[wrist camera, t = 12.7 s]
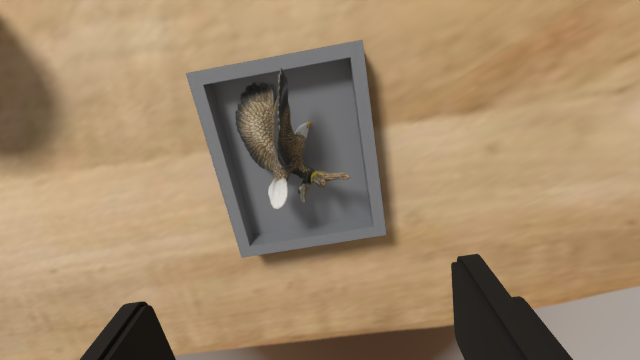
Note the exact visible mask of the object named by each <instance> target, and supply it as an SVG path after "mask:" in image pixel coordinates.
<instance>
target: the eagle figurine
mask: <svg viewBox="0 0 640 360" xmlns="http://www.w3.org/2000/svg"><path fill="white" fill-rule="evenodd" d="M278 87H279V88H278V97H277V100H276V102H275V105H274V98H273V89H272V86H271V85H268V86H266V85H265V84H264V83H261V84H260V85H258V84H257V83H255V82H254V83H252V85H251V86H250V85H247V87H246V90H245V93H244V92H243V93H241V103H238V104H237V106H238V110H236V112H235V113H236V116H235V119H236V126H237V131H238V133H239V134H240V137H241V140H242V141H243V142H244V145H245V147H246V149H247V151H248V152H249V154H250V156H251V158H252V159H253V160H254V161H255V163H257V164H258V165H259V167H262V168H263V169H266V170H270V171H271V172H273V173H274V179H273V181H272V183H271V184H270V186H269V189H268V195H269V198H270V201H271V205H272V207H273V208H274V209H280V208H281V207H283V205H284V204H285V203H286V200H287V197H288V184H287V181H288V178H289V176H290V174H291V173H293V174H296V175H297V176H299V177H300V178H302V179H304V180H303V182H302V184H301V186H300V188H299V189H298V194H301V200H302V202H304V203H305V200H306V198H305V194H306V191H307V190H308V189H309V187H310V186H311V183H314V182H315V184H316V185H317V186H318V187H319V188H324V187H325V184H326V182H327V181H332V180H336V179H342V180H346V179H350V176H349V175H348V174H346V173H344V172H340V173H330V174H328V173H326V172H322V171H315V170H314V169H313V168H310V167H307V166H306V165H305V163H304V162H303V160H302V154H303V152H304V150H305V146H306V140H307V134H308V131H309V127H310V126H311V125H312V123H311V122H306V123H304V124H302V125H300V126H299V127H298V129H297V130H296V132H295V133H294V132H293V129H292V126H291V114H290V107H289V103H288V81H287V78H286V76H285V74H284V71H283V69H282V68H280V74H279V75H278Z"/></svg>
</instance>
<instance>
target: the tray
mask: <svg viewBox="0 0 640 360" xmlns="http://www.w3.org/2000/svg"><path fill="white" fill-rule="evenodd" d="M280 68H282V69H283V71H284V74H285V76H286V78H287V81H288V103H289V107H290V114H291V126H292V129H293V132H294V133H295V132H296V130H297V129H298V127H299V126H300V125H302V124H304V123H306V122H311V123H312V125H311V126H310V127H309V131H308V134H307V140H306V146H305V150H304V152H303V154H302V160H303V162H304V163H305V165H306V166H307V167H310V168H313V169H314V170H315V171H322V172H326V173H328V174H330V173H340V172H344V173H346V174H348V175H349V176H350V179H346V180H342V179H336V180H332V181H327V182H326V184H325V187H324V188H319V187H318V186H317V185H316V184H315V182H314V183H311V186H310V187H309V189H308V190H307V191H306V194H305V198H306V200H305V203H304V202H302V200H301V194H298V189H299V188H300V186H301V184H302V182H303V180H304V179H302V178H300V177H299V176H297V175H296V174H293V173H291V174H290V176H289V178H288V181H287V184H288V197H287V200H286V203H285V204H284V205H283V207H281V208H280V209H274V208H273V207H272V205H271V201H270V198H269V195H268V189H269V186H270V184H271V183H272V181H273V179H274V173H273V172H271V171H270V170H266V169H263V168H262V167H259V165H258V164H257V163H255V161H254V160H253V159H252V158H251V156H250V154H249V152H248V151H247V149H246V147H245V145H244V142H243V141H242V140H241V137H240V134H239V133H238V131H237V126H236V119H235V116H236V113H235V112H236V110H238V106H237V104H238V103H241V93H243V92H244V93H245V90H246V87H247V85H250V86H251V85H252V83H254V82H255V83H257V84H258V85H260V84H261V83H264V84H265V85H266V86H268V85H271V86H272V89H273V98H274V105H275V102H276V100H277V97H278V88H279V87H278V75H279V74H280ZM186 75H187V79H188V82H189V85H190V89H191V92H192V95H193V98H194V102H195V105H196V108H197V112H198V115H199V118H200V122H201V125H202V128H203V132H204V135H205V138H206V141H207V145H208V148H209V151H210V155H211V158H212V161H213V165H214V168H215V171H216V174H217V178H218V181H219V184H220V188H221V191H222V194H223V198H224V201H225V204H226V208H227V211H228V214H229V217H230V221H231V224H232V227H233V231H234V234H235V237H236V241H237V244H238V247H239V250H240V254H241V257H242V258H243V257H249V256H256V255H262V254H268V253H275V252H281V251H288V250H294V249H300V248H307V247H313V246H320V245H326V244H332V243H339V242H345V241H351V240H358V239H364V238H371V237H377V236H383V235H386V227H385V219H384V211H383V203H382V195H381V187H380V179H379V170H378V162H377V154H376V146H375V138H374V130H373V122H372V113H371V105H370V97H369V89H368V81H367V73H366V64H365V56H364V48H363V40H359V41H354V42H349V43H343V44H338V45H333V46H327V47H322V48H317V49H312V50H306V51H301V52H296V53H291V54H285V55H280V56H275V57H269V58H264V59H259V60H254V61H248V62H243V63H238V64H233V65H227V66H222V67H217V68H212V69H206V70H201V71H196V72H190V73H186Z"/></svg>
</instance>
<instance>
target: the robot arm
mask: <svg viewBox="0 0 640 360" xmlns="http://www.w3.org/2000/svg"><path fill="white" fill-rule="evenodd" d="M451 269H452V289H453V309H454V326H455V327H454V328H455V336H456V340H457V343H458V346H459V348H460V350H461V352H462V354H463V357H464V359H465V360H573V359H572V358H571V357H570V355H569V354H568V353H567V352H566V350H565V349H564V348H563V347H562V345H561V344H560V343H559V342H558V340H557V339H556V338H555V337H554V335H553V334H552V333H551V332H550V331H549V329H548V328H547V327H546V325H545V324H544V323H543V322H542V320H541V319H540V318H539V317H538V315H537V314H536V313H535V312H534V310H533V309H532V308H531V307H530V305H529V304H528V303H527V302H526V301H525V300H524V299H523V298H522V297H520V296H518V297H511V296H510V295H509V293H508V292H507V291H506V289H505V288H504V287H503V285H502V284H501V283H500V281H499V280H498V279H497V277H496V276H495V275H494V273H493V272H492V271H491V269H490V268H489V267H488V266H487V264H486V263H485V262H484V260H483V259H482V258H481V256H480V255H479V254H473V255H466V256H459V257H458V258H457V262H453V263H452V264H451ZM80 360H176V359H175V357H174V354H173V352H172V350H171V348H170V345H169V343H168V341H167V339H166V336H165V334H164V332H163V330H162V327H161V325H160V323H159V321H158V318H157V316H156V314H155V312H154V309H153V308H152V306H149V305H148V304H147V303H146V302H135V303H128V304H125V305H123V306H122V307H121V308H120V309H119V311H118V312H117V313H116V314H115V316H114V317H113V318H112V319H111V321H110V322H109V323H108V324H107V326H106V327H105V328H104V330H103V331H102V332H101V333H100V335H99V336H98V337H97V338H96V340H95V341H94V342H93V343H92V345H91V346H90V347H89V349H88V350H87V351H86V352H85V354H84V355H83V356H82V357H81V359H80Z"/></svg>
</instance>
